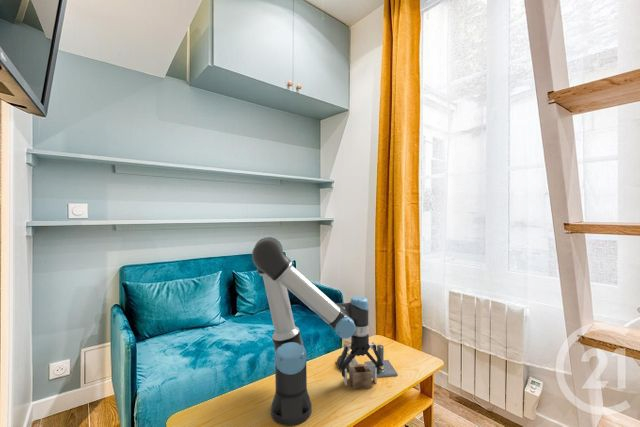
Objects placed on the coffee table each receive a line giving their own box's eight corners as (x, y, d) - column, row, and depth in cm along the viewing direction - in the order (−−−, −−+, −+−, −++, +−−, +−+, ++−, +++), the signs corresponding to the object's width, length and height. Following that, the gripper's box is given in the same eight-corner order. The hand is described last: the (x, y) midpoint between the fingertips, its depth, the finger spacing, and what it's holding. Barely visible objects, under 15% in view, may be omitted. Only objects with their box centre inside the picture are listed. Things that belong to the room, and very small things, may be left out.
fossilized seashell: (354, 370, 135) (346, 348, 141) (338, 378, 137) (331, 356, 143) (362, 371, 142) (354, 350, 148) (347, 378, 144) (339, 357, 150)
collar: (353, 389, 124) (353, 375, 124) (349, 378, 132) (349, 365, 132) (371, 387, 125) (371, 373, 125) (366, 376, 133) (366, 363, 133)
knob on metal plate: (371, 377, 132) (371, 353, 132) (364, 363, 144) (364, 341, 144) (397, 375, 133) (397, 351, 133) (388, 361, 145) (388, 339, 145)
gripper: (333, 339, 123) (333, 390, 123) (390, 335, 126) (390, 385, 126) (330, 331, 130) (331, 379, 131) (384, 328, 133) (384, 375, 133)
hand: (360, 382), depth 128 cm, fingers open, 12 cm apart
